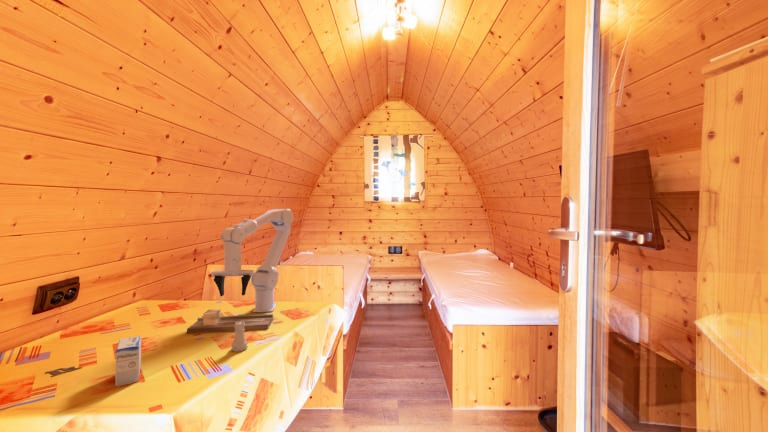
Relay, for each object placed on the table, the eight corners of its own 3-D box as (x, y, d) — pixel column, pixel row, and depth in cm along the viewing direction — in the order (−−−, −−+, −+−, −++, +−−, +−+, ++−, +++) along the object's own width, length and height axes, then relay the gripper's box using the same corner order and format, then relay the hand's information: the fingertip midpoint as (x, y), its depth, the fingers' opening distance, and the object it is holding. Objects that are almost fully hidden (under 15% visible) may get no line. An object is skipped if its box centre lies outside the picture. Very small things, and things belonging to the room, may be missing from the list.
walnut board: (199, 323, 116) (199, 317, 116) (273, 319, 120) (273, 313, 120) (187, 333, 106) (187, 326, 106) (268, 328, 110) (268, 322, 110)
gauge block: (208, 320, 114) (208, 309, 114) (220, 320, 115) (220, 309, 115) (203, 325, 109) (203, 313, 109) (215, 324, 110) (215, 313, 110)
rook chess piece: (250, 349, 94) (250, 322, 94) (234, 353, 90) (234, 325, 90) (244, 344, 97) (244, 318, 97) (229, 349, 94) (229, 322, 94)
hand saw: (155, 343, 99) (155, 341, 99) (161, 346, 96) (161, 344, 96) (44, 374, 79) (44, 371, 79) (47, 379, 77) (47, 377, 77)
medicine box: (118, 373, 79) (118, 338, 79) (141, 368, 82) (141, 335, 82) (115, 387, 73) (115, 349, 73) (139, 381, 75) (139, 345, 75)
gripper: (208, 261, 114) (208, 298, 114) (250, 260, 117) (250, 297, 117) (215, 258, 121) (215, 294, 121) (255, 257, 124) (255, 292, 124)
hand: (232, 295), depth 120 cm, fingers open, 7 cm apart
